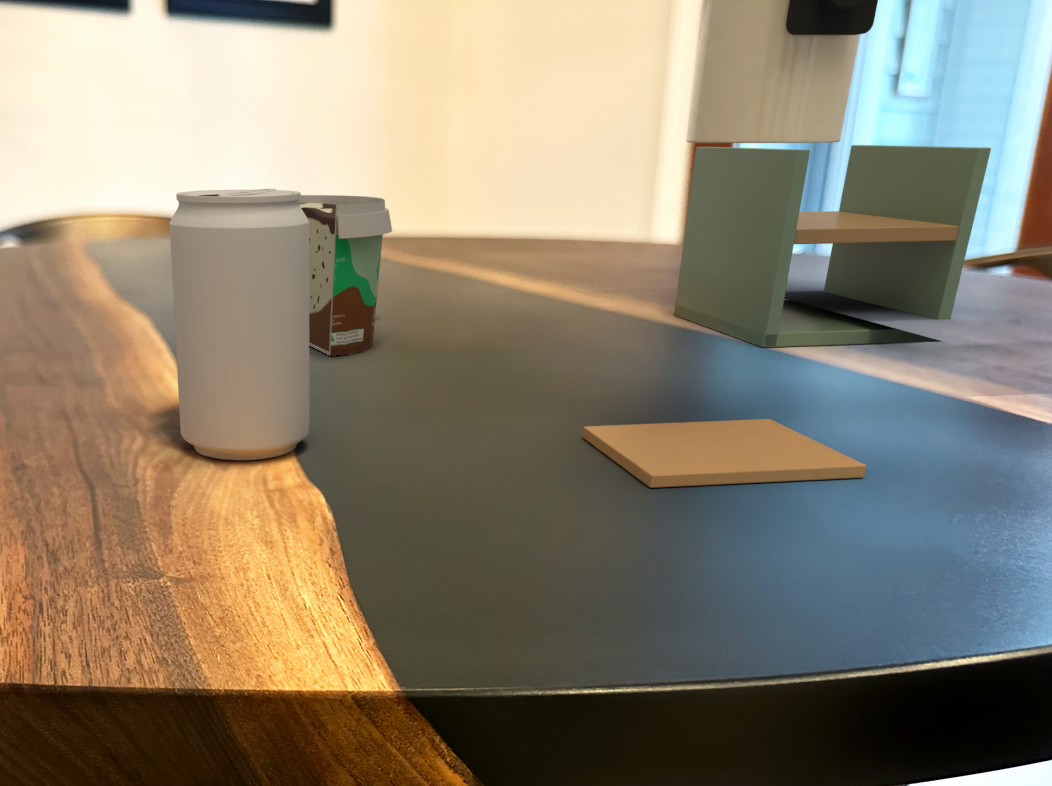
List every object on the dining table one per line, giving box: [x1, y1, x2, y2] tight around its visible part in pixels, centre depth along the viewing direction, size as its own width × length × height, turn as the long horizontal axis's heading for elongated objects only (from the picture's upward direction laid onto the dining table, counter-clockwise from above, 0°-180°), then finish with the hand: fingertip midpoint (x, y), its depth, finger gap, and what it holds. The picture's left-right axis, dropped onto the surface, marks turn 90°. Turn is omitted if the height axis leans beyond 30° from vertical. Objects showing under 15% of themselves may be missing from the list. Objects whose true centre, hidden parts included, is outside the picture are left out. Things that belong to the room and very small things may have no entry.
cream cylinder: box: [686, 0, 861, 144], centre depth 41 cm, size 6×6×9 cm
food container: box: [299, 194, 393, 357], centre depth 73 cm, size 12×6×10 cm, turn 22°
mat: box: [582, 418, 867, 489], centre depth 48 cm, size 10×8×1 cm
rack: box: [673, 144, 992, 348], centre depth 76 cm, size 14×14×13 cm
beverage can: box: [168, 188, 310, 461], centre depth 48 cm, size 6×6×12 cm
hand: (778, 36), depth 41 cm, fingers closed on cream cylinder, 6 cm apart
